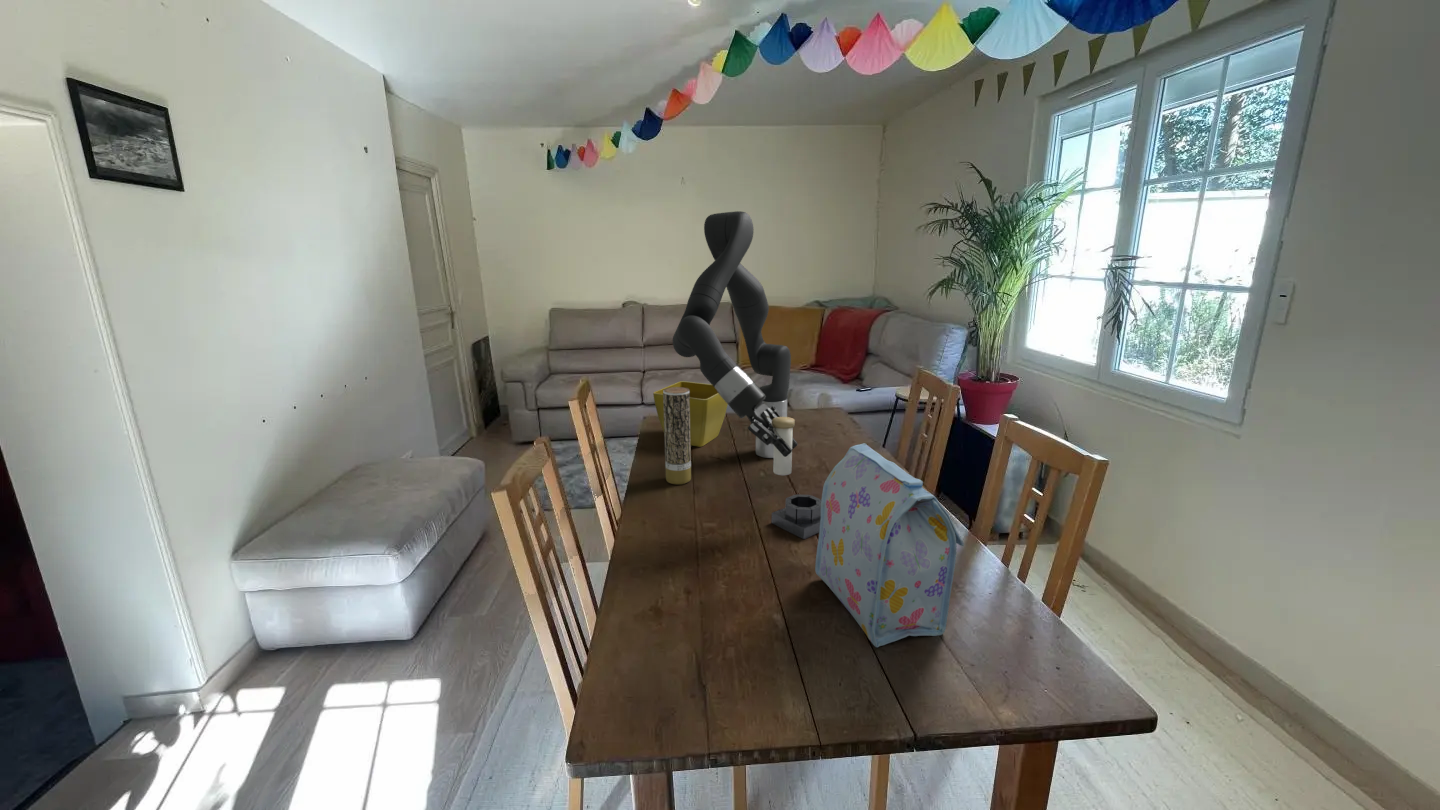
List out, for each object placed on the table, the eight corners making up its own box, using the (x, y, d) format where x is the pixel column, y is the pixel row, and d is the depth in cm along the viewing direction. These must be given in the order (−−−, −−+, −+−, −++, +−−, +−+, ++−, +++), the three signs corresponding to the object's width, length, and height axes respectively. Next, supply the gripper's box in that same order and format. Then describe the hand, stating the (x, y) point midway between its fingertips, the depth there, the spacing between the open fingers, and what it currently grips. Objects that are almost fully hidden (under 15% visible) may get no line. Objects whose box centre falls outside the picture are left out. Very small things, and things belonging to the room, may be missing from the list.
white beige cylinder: (782, 466, 133) (783, 415, 129) (797, 472, 129) (799, 420, 126) (767, 471, 130) (767, 419, 127) (781, 477, 126) (783, 424, 123)
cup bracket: (802, 510, 139) (802, 489, 137) (834, 525, 131) (835, 503, 130) (771, 522, 133) (771, 500, 131) (803, 539, 125) (804, 515, 124)
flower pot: (731, 434, 196) (731, 385, 191) (706, 452, 179) (706, 399, 175) (681, 427, 203) (680, 380, 199) (653, 444, 187) (651, 393, 182)
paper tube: (692, 476, 160) (691, 387, 154) (689, 486, 153) (687, 393, 147) (668, 475, 161) (665, 386, 154) (663, 485, 154) (660, 393, 148)
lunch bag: (964, 635, 94) (983, 482, 87) (871, 656, 89) (883, 495, 82) (887, 565, 115) (898, 437, 108) (809, 579, 110) (814, 446, 103)
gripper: (739, 388, 120) (795, 451, 119) (761, 374, 133) (812, 431, 132) (716, 410, 124) (770, 472, 123) (739, 394, 137) (788, 450, 135)
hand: (791, 450), depth 127 cm, fingers closed on white beige cylinder, 4 cm apart
